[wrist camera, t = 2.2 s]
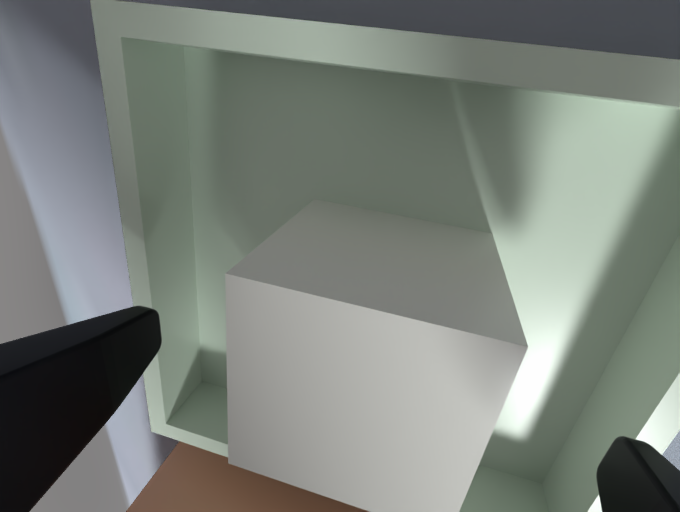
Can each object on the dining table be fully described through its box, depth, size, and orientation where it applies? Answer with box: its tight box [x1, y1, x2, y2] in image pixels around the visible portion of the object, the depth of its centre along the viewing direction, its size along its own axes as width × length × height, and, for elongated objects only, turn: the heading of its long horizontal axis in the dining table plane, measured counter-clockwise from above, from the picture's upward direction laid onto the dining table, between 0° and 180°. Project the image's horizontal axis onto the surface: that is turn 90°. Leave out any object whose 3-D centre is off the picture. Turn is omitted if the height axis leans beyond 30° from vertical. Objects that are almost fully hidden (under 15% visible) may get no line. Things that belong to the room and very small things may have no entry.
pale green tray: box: [90, 0, 680, 512], centre depth 10 cm, size 13×12×2 cm
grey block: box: [225, 199, 528, 512], centre depth 8 cm, size 4×4×4 cm
